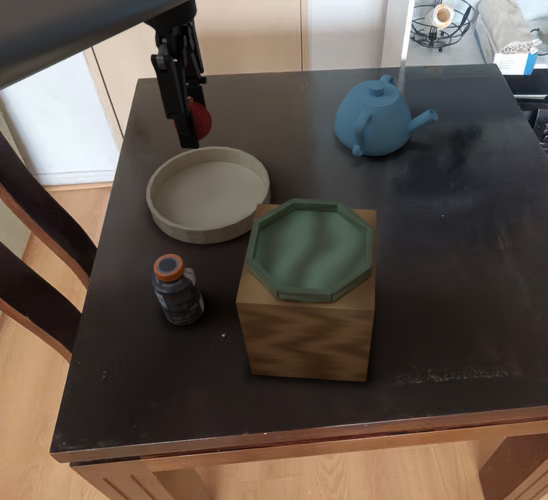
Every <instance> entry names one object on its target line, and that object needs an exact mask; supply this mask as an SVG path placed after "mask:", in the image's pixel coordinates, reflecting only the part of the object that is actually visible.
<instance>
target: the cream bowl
mask: <svg viewBox="0 0 548 500" xmlns="http://www.w3.org/2000/svg"><path fill="white" fill-rule="evenodd" d="M271 192H272V191H271V185H270V178H269V172H268V171H267V169H266V167H265V166H264V164H263V163H262V162H261V160H259V159H258V158H256V157H255V156H254V155H252V154H250V153H248V152H247V151H244V150H242V149H238V148H234V147H229V146H214V145H213V146H205V147H199V149H190V150H187V151H183V152H181V153H179V154H176V155H174V156H173V157H170V158H169V159H168V160H167V161H165V162H163V164H161V165H160V166H159V167H157V169H156V170H155V172H154V173H153V174H152V176H151V177H150V178H149V181H148V183H147V185H146V196H145V199H146V202H147V206H148V208H149V211H150V213H151V217H152V218H153V221H154V223H155V224H156V226H157V227H158V228H159V229H160V230H161V232H164V234H166V235H167V236H169V237H171V238H172V239H175V240H176V241H177V240H178V241H180V242H184V243H189V244H195V245H209V244H219V243H223V242H226V241H231V240H233V239H236V238H239V237H240V236H242V235H244V234H246V233H247V232H249V231H251V230H252V226H253V221H254V216H255V212H256V207H257V204H271V199H272V194H271Z"/></svg>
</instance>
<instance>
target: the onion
mask: <svg viewBox="0 0 548 500" xmlns="http://www.w3.org/2000/svg"><path fill="white" fill-rule="evenodd" d="M188 106H189V111H192V114H193V118H194V123H195V127H196V132H197V136H198V141H199V142H200V141H201V140H203V139H204V138H206V137H208V135H209V134H210V132H211V130H212V124H213V117H212V115H211V113H210V112H209V110H208V109H207V107H206V108H205V107H204V106H203V105H202V104H200V103H198V102H195V101H193V98H192V97H190V96H189V97H188ZM172 122H173V126H174V129H175V131H176V132H177V129H176V125H175V121H174V120H172Z"/></svg>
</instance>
